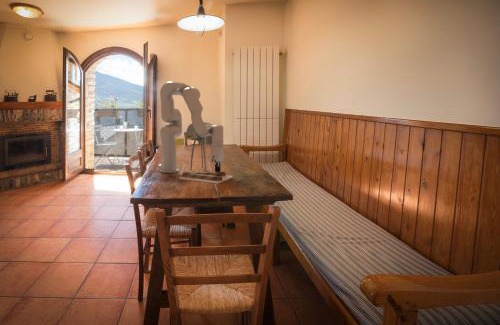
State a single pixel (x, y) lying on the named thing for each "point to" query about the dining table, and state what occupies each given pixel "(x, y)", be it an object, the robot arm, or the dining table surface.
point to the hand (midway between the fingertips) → (217, 172)
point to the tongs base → (201, 176)
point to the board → (208, 180)
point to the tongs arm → (211, 173)
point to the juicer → (200, 140)
